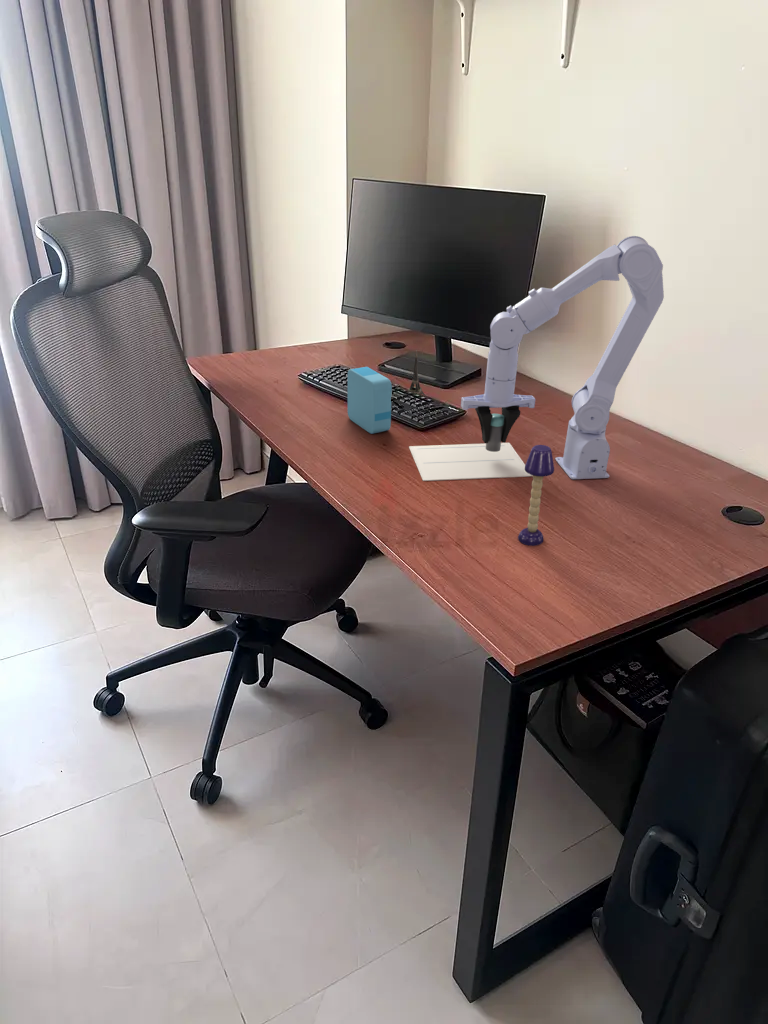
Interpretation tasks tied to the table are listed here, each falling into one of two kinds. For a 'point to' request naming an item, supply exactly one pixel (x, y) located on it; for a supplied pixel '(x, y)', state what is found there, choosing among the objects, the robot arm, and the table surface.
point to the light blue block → (369, 399)
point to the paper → (467, 462)
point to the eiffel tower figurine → (415, 379)
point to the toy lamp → (536, 491)
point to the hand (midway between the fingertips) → (493, 441)
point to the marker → (495, 433)
